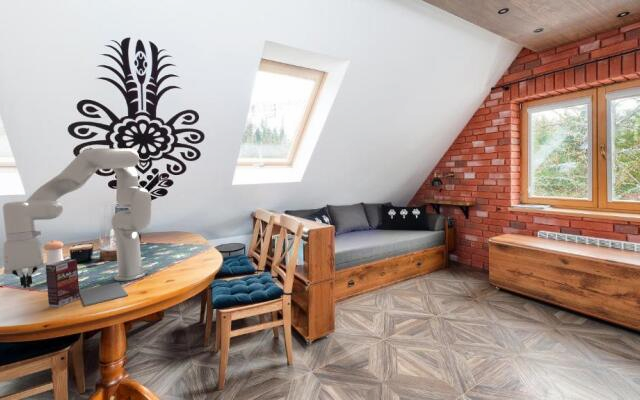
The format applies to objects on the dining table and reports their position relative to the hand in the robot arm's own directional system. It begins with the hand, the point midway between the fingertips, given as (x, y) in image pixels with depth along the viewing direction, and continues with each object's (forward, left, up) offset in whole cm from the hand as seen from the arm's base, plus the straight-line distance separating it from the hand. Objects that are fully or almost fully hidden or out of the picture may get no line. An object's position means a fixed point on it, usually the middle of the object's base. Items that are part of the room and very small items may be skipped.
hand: (26, 286), depth 112 cm
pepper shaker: (-9, -34, -9) cm, 36 cm away
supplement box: (-10, 0, -9) cm, 14 cm away
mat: (-22, 0, -9) cm, 24 cm away
